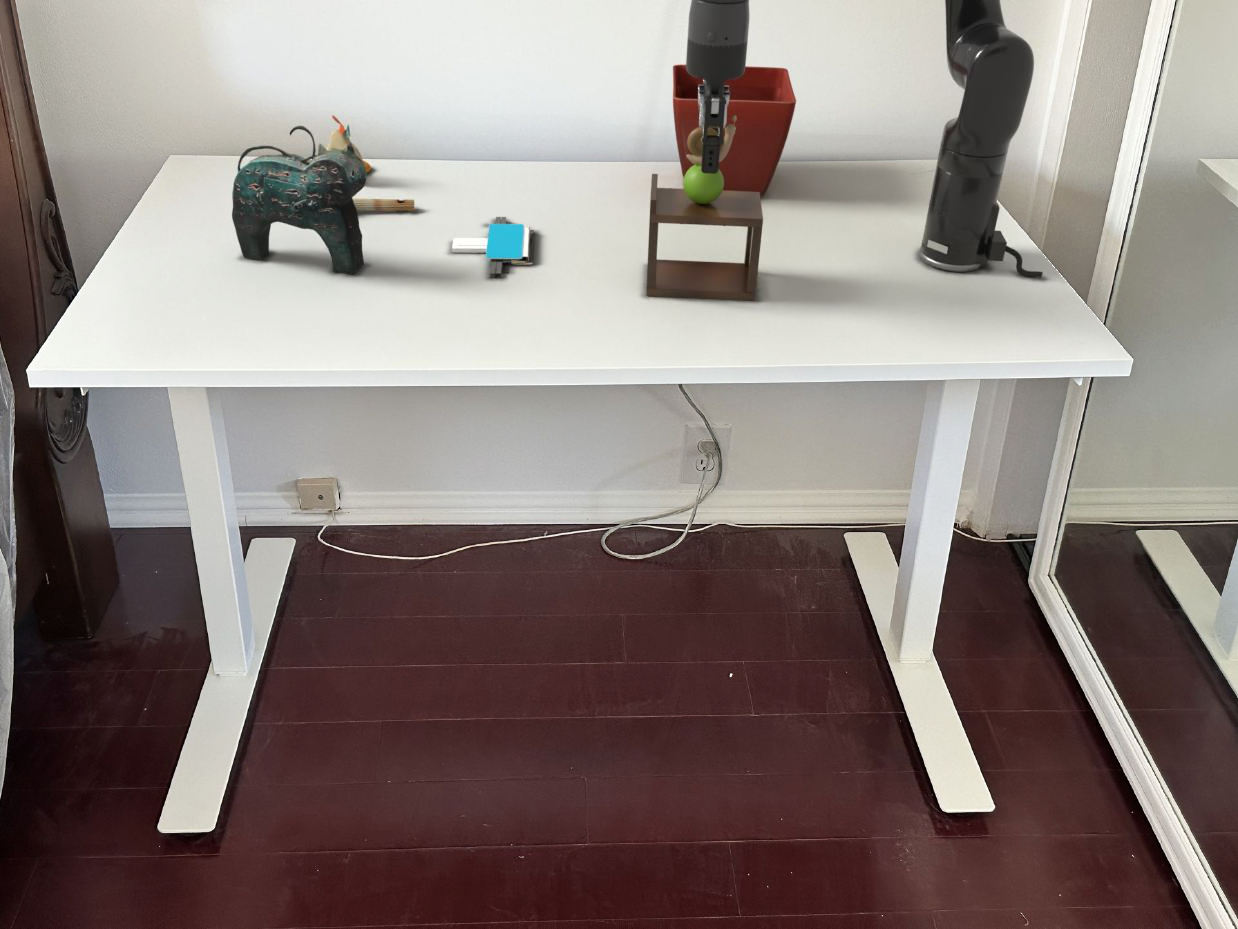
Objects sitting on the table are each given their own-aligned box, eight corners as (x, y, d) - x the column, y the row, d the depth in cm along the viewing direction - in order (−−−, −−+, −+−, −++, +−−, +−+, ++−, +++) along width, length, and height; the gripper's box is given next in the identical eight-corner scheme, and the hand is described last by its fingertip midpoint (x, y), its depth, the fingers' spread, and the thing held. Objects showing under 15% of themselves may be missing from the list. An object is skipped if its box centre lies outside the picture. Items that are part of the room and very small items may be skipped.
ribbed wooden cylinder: (283, 188, 181) (414, 192, 184) (285, 205, 183) (414, 209, 185) (280, 198, 178) (413, 202, 181) (282, 215, 180) (413, 218, 182)
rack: (751, 270, 169) (760, 177, 161) (754, 300, 161) (764, 204, 153) (647, 266, 169) (652, 173, 161) (646, 296, 161) (650, 199, 153)
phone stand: (457, 220, 181) (457, 210, 180) (534, 221, 181) (534, 211, 181) (447, 277, 164) (447, 266, 164) (532, 278, 165) (532, 267, 164)
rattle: (391, 179, 194) (385, 110, 188) (348, 190, 190) (341, 121, 183) (366, 166, 199) (359, 99, 192) (324, 177, 194) (315, 109, 187)
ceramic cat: (378, 264, 168) (364, 126, 156) (358, 283, 162) (342, 142, 151) (254, 245, 172) (231, 109, 160) (230, 263, 167) (205, 124, 155)
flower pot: (667, 160, 205) (672, 62, 195) (777, 164, 204) (787, 66, 195) (667, 202, 189) (672, 98, 180) (785, 206, 189) (797, 102, 179)
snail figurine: (729, 212, 156) (736, 123, 149) (681, 209, 156) (686, 120, 149) (730, 196, 160) (737, 109, 153) (683, 193, 161) (688, 106, 154)
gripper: (750, 52, 140) (739, 182, 149) (745, 21, 151) (735, 143, 161) (687, 49, 140) (680, 179, 149) (687, 19, 152) (680, 141, 161)
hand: (708, 160), depth 155 cm, fingers open, 8 cm apart
